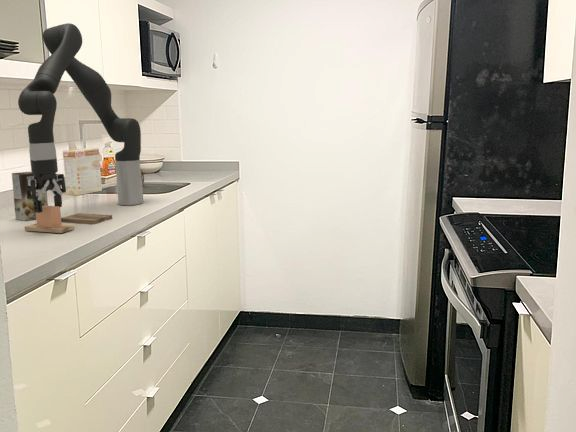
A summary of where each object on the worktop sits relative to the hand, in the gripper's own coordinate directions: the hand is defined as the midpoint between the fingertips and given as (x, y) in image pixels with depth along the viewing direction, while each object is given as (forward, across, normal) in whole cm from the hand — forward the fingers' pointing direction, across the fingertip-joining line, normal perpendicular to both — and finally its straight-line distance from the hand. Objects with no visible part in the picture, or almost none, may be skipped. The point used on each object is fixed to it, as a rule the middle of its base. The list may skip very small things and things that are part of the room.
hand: (48, 209), depth 183 cm
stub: (+6, 0, 0) cm, 6 cm away
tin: (+8, -90, -30) cm, 95 cm away
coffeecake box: (+8, -70, -43) cm, 83 cm away
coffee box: (+7, -15, -21) cm, 27 cm away
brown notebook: (+7, -17, 0) cm, 18 cm away
